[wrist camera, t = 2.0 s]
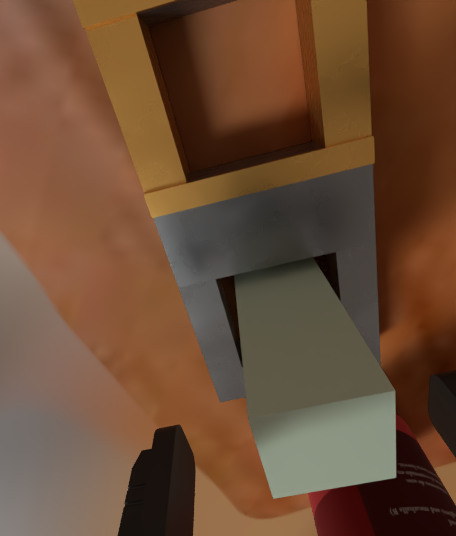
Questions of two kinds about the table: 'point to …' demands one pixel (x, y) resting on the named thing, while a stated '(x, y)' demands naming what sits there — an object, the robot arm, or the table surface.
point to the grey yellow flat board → (252, 172)
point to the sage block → (311, 384)
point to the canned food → (390, 499)
